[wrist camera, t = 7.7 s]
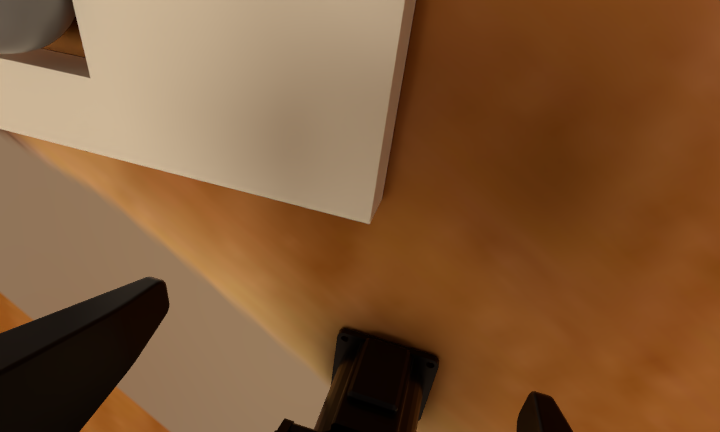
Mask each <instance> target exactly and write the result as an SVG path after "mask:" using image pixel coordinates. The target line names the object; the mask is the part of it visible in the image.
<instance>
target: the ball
mask: <svg viewBox="0 0 720 432" xmlns="http://www.w3.org/2000/svg"><path fill="white" fill-rule="evenodd" d="M75 15H76V14H75V10H74V5H73V1H72V0H0V53H1V54H14V53H24V52H29V51H33V50H37V49H40V48H42V47H45V46H47V45H49V44H51V43H52V42H54V41H55V40H57V39H58V38H59V37H61V36H62V35H63V34H64V32H65V31H66V30H67V29H68V28H69V26H70V25H71V23H72V21H73V20H74V18H75Z"/></svg>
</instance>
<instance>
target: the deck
mask: <svg viewBox="0 0 720 432" xmlns="http://www.w3.org/2000/svg"><path fill="white" fill-rule="evenodd" d="M72 1H73V5H74V10H75V14H76V18H77V22H78V27H79V31H80V35H81V40H82V44H83V48H84V52H85V57H86V58H84V57H79V56H74V55H70V54H65V53H60V52H55V51H51V50H46V49H41V48H40V49H37V50H33V51H29V52H24V53H14V54H1V53H0V129H3V130H7V131H10V132H14V133H18V134H22V135H26V136H30V137H34V138H38V139H41V140H45V141H49V142H53V143H57V144H61V145H65V146H69V147H72V148H76V149H80V150H84V151H88V152H92V153H96V154H100V155H103V156H107V157H111V158H115V159H119V160H123V161H127V162H131V163H134V164H138V165H142V166H146V167H150V168H154V169H158V170H162V171H165V172H169V173H173V174H177V175H181V176H185V177H189V178H193V179H196V180H200V181H204V182H208V183H212V184H216V185H220V186H224V187H227V188H231V189H235V190H239V191H243V192H247V193H251V194H255V195H258V196H262V197H266V198H270V199H274V200H278V201H282V202H286V203H289V204H293V205H297V206H301V207H305V208H309V209H313V210H317V211H320V212H324V213H328V214H332V215H336V216H340V217H344V218H348V219H351V220H355V221H359V222H363V223H367V224H370V222H371V220H372V218H373V216H374V214H375V212H376V210H377V208H378V206H379V204H380V202H381V200H382V196H383V190H384V185H385V179H386V173H387V167H388V161H389V155H390V149H391V144H392V138H393V132H394V126H395V120H396V114H397V109H398V103H399V97H400V91H401V85H402V79H403V74H404V68H405V62H406V56H407V50H408V44H409V38H410V33H411V27H412V21H413V15H414V9H415V3H416V0H72Z"/></svg>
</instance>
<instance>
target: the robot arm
mask: <svg viewBox="0 0 720 432" xmlns="http://www.w3.org/2000/svg"><path fill="white" fill-rule="evenodd" d="M168 309H169V298H168V293H167V287H166V283H165V282H164V281H163V280H160V279H157V278H154V277H146V278H143V279H141V280H138V281H135V282H133V283H130V284H127V285H125V286H122V287H120V288H117V289H114V290H112V291H110V292H107V293H104V294H101V295H99V296H96V297H94V298H91V299H88V300H86V301H83V302H81V303H78V304H75V305H73V306H71V307H68V308H65V309H62V310H60V311H57V312H55V313H52V314H50V315H47V316H44V317H42V318H39V319H37V320H34V321H31V322H29V323H26V324H23V325H21V326H18V327H16V328H13V329H10V330H8V331H5V332H3V333H0V432H80V430H81V429H82V428H83V427H84V425H85V424H86V423H87V422H88V420H89V419H90V418H91V417H92V415H93V414H94V413H95V412H96V410H97V409H98V408H99V407H100V405H101V404H102V403H103V402H104V400H105V399H106V398H107V397H108V395H109V394H110V393H111V392H112V390H113V389H114V388H115V387H116V385H117V384H118V383H119V382H120V380H121V379H122V378H123V377H124V375H125V374H126V373H127V371H128V370H129V369H130V368H131V366H132V365H133V364H134V362H135V361H136V359H137V358H138V357H139V355H140V354H141V352H142V350H143V349H144V348H145V346H146V344H147V343H148V341H149V340H150V338H151V337H152V335H153V334H154V332H155V331H156V329H157V328H158V326H159V325H160V323H161V321H162V320H163V319H164V317H165V315H166V314H167V312H168ZM430 362H431V363H430ZM438 366H439V359H438V358H437V357H436V356H434V355H432V354H429V353H425V352H422V351H419V350H415V349H412V348H409V347H406V346H402V345H399V344H396V343H393V342H389V341H386V340H383V339H379V338H376V337H373V336H370V335H366V334H363V333H360V332H357V331H353V330H350V329H346V328H343V329H341V330H340V331H339V334H338V336H337V343H336V351H335V359H334V366H333V374H332V382H331V387H330V390H329V393H328V395H327V397H326V400H325V402H324V405H323V407H322V410H321V412H320V415H319V418H318V420H317V423H316V426H315V428H314V429H311V428H307V427H304V426H301V425H298V424H295V423H294V421H291V420H288V419H284V420H283V422H282V423H281V425H280V426H279V428H278V430H276V431H275V432H416V429H417V424H418V420H420V419H421V416H422V413H423V410H424V407H425V404H426V401H427V399H428V396H429V393H430V390H431V387H432V384H433V381H434V378H435V376H436V373H437V370H438ZM517 432H573V430H572V429H571V427H570V425H569V424H568V422H567V421H566V419H565V417H564V416H563V414H562V412H561V411H560V409H559V407H558V406H557V404H556V402H555V401H554V399H553V398H552V397H551V396H549V395H546V394H542V393H539V392H536V391H532V392H531V393H530V394H529V395H528V397H527V399H526V401H525V403H524V405H523V407H522V409H521V411H520V413H519V416H518V420H517Z"/></svg>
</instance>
